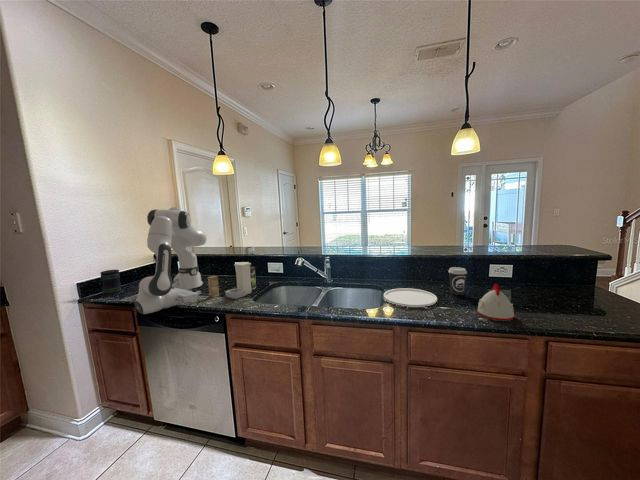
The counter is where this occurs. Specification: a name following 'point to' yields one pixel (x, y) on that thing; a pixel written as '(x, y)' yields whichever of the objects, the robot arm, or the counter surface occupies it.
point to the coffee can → (252, 277)
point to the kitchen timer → (496, 305)
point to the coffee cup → (457, 280)
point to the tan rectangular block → (213, 286)
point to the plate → (410, 297)
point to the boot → (241, 281)
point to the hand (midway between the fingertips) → (195, 290)
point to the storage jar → (110, 282)
